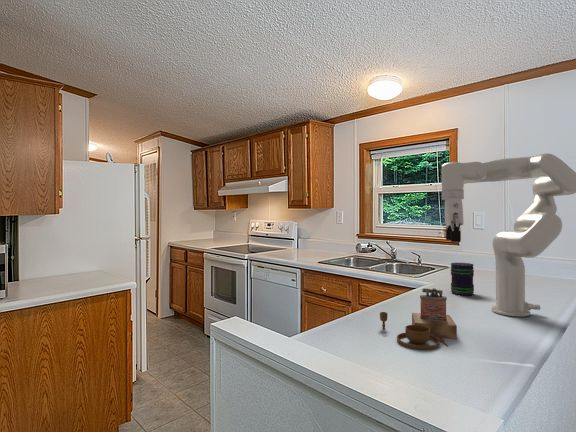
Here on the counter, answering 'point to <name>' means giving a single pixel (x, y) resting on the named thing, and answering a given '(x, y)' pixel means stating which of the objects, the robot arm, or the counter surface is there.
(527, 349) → the counter surface
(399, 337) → the place setting
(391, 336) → the counter surface
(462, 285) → the storage jar
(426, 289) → the lighter
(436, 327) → the walnut base
